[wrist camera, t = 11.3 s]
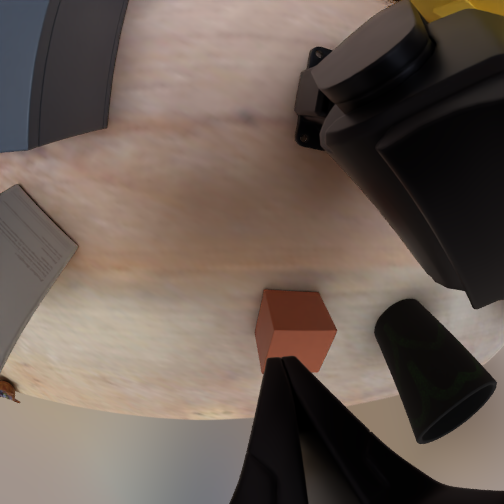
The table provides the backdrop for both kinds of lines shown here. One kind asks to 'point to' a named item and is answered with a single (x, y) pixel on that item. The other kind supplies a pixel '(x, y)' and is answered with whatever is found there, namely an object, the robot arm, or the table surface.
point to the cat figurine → (7, 391)
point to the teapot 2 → (455, 7)
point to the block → (294, 327)
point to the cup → (431, 370)
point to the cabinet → (55, 68)
